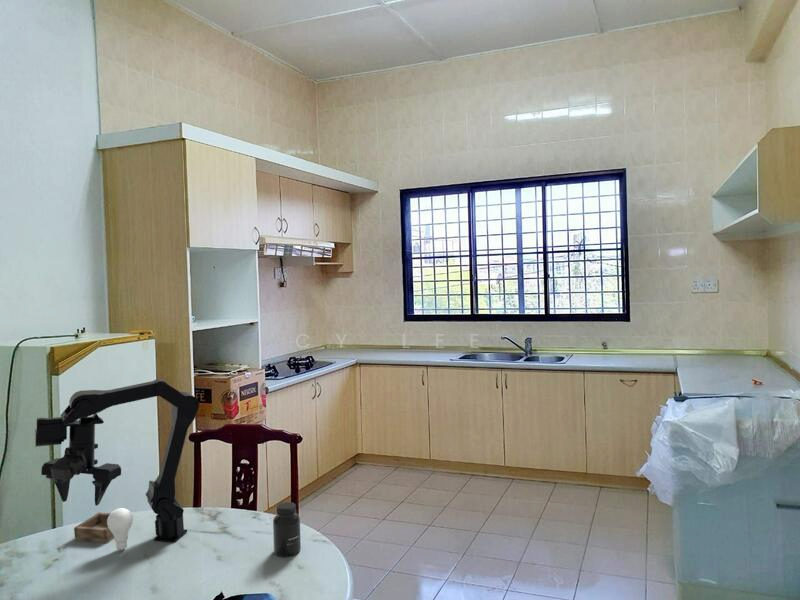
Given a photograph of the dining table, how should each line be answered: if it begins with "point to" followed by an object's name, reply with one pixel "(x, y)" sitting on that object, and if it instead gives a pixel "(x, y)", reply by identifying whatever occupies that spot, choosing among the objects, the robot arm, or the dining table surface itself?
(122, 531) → the lightbulb
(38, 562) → the dining table surface
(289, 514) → the supplement bottle
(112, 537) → the brown square tray
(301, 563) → the dining table surface
